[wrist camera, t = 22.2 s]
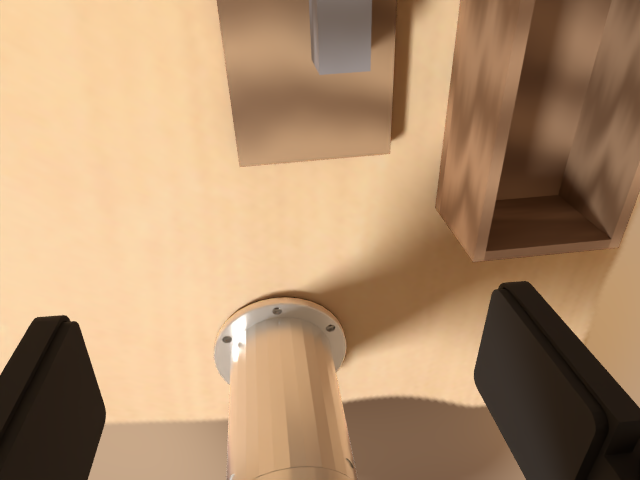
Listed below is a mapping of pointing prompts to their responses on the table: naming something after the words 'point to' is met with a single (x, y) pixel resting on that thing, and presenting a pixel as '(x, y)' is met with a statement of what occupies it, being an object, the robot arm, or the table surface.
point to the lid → (309, 77)
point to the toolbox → (542, 127)
